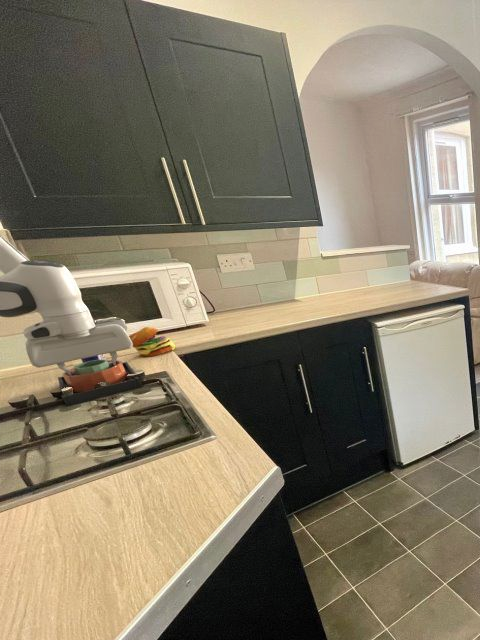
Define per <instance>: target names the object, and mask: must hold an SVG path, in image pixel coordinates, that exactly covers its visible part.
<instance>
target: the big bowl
mask: <svg viewBox="0 0 480 640" xmlns="http://www.w3.org/2000/svg"><path fill="white" fill-rule="evenodd" d="M106 360H107V362H110V361H111V360H112V359H110V360H109V359H106ZM115 363H116V366H114V367H112V368H109V369H106V370H103V371H99V372H95V373H91V374H85V375H78V376H69V374H68V372H65V371H63V373H62V376H63V377H64V379H65V381H66V382H67V384H68V386H69V387H72V388H73V391H74V392H84V391H88V390H92V389H94V385H96V384H98V383H100V382H109V383H110V385H112V384H116V383H120V382H122V381H124V380H125V379H126V378H127V377H126V376H127V373H126V371H125V369H124V367H123V364H122V363H123V362H122V361H121V360H119V359H116V362H115ZM69 369H70V370H74V367H72V368H69Z"/></svg>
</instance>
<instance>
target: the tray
mask: <svg viewBox="0 0 480 640" xmlns="http://www.w3.org/2000/svg"><path fill="white" fill-rule="evenodd" d="M122 364H123V367H124V369H125V371H126V373H127V375H128V374H136V373H135V371H134V369H133V368H132V367H131V366H130V364H129V363H128V361H125V362H124V361H123V362H122ZM57 379H58V384H59V390H60V389H63V388H64V387H65V388H66V387H69V386H68V384H67V382H66V381H65V379H64V377H63V375H62V376H59V377H57ZM142 387H143V385H142V382H141V380H140V378H139V377H138V376H137V377H135V379H128V378H126V379H125V380H124V381H122V382H120V383H116V384H112V385H108V386H104V387H100V388H96V389H92V390H88V391H84V392H74V391H73V394H72V395H68V396H65V395H64V396H62V395H61V398H62V400H63V402H64V404H65V405H66V407H69V406H74V405H77V404H82V403H85V402H88V401H92V400H96V399H97V400H98V399H101V398H104V397H108V396H111V395H115V394H119V393H123V392H126V391H130V390H134V389H138V388H142Z"/></svg>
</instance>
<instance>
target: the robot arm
mask: <svg viewBox="0 0 480 640" xmlns="http://www.w3.org/2000/svg"><path fill="white" fill-rule="evenodd" d="M0 272H1V273H3V274H2V275H0V317H2V318H20V317H23V316H27V315H31V314H35V313H37V314H39V315H40V316H41V318H42V321H40V322H37V323H35V324H33V325H30V326H28V327H26V328H24V330H23V331H22V333H23V336H24V337H25V339H26V341H25V350H26V354H27V357H28V360H29V362H30V364H31V366H32V367H35V368H37V369H40V368H45V367H49V366H54V365H57V367H58V368H59V369H60V370H62V371H63V372H68V374H69V376H77V374H76V372H75V370H70V369H71V368H68V367H66V366H67V364H66V363H69V362H73V361H78V360H81V359H83V358H88V357H93V356H98V355H102V354H104V355H106V354H109V356H110V357H111V359H110V360H111V361H110V362H108V364H109V366H110V368H112V367H114V366H116V363H115V362H116V360H118V359H117V358H118V356H119V355H118V353H117V352H121V351H126V350H130V349H132V348H133V347H132V346H133V343H132V341H131V339H130V337H129V336H130V335H129V334H128V333H127V330H128V326H127V324H126V321H125V320H124V319H123V318H120V317H116V316H109V317H107V318H98V319H94V318H93V316H92V314H91V312H90V309H89V307H87V305H86V304H85V303H84V301H83V298H82V292H81V290H80V288H79V286H78V284H77V282H76V279H75V278H74V277H73V274H72V273H71V272H70V271H69V269H68V268H67V266H65V265H64V264H63V263H61V262H58V261H54V260H46V259H45V260H44V259H40V260H39V259H38V260H37V259H36V260H35V259H31V260H30V259H29V258H28V257H27V256H26V255H25V254H23V253H22V252H21V251H20V249H18V248H16V246H14V245H13V244H12V243H11V242H10V241H9V240H8V239H7V238H5V237H4V236H3V235H2V234H1V233H0Z"/></svg>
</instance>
